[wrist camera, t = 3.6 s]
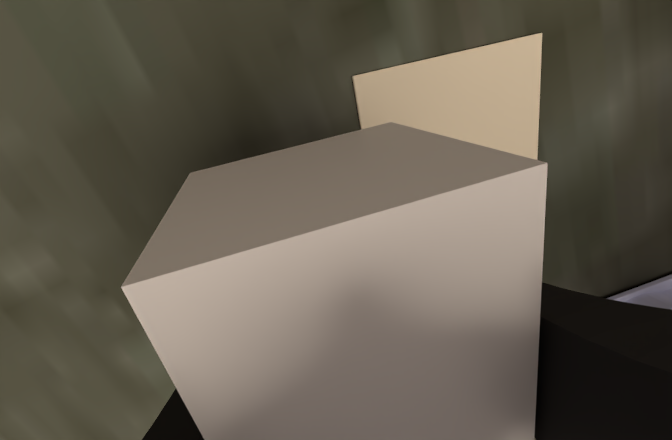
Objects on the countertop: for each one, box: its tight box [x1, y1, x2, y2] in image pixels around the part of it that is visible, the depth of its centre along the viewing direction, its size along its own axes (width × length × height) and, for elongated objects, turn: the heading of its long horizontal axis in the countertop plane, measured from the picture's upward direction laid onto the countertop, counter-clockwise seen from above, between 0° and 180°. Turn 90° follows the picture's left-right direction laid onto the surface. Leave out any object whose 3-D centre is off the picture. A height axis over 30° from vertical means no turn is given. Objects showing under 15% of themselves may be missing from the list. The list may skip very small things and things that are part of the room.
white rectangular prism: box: [121, 122, 548, 440], centre depth 9 cm, size 10×6×6 cm, turn 11°
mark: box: [352, 33, 542, 160], centre depth 19 cm, size 10×10×1 cm
